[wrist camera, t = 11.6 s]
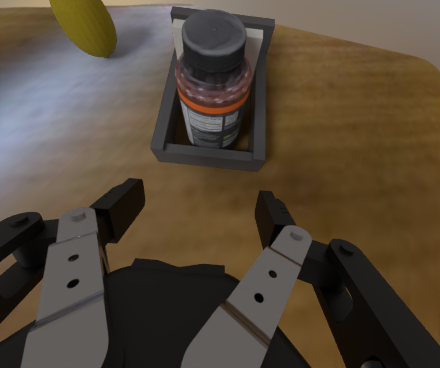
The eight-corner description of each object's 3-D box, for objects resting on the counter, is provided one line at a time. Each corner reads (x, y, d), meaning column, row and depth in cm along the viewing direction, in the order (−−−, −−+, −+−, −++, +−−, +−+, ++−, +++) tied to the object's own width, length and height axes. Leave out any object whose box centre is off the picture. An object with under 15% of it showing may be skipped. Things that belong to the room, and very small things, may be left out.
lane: (158, 161, 20) (137, 129, 14) (181, 60, 24) (172, 6, 19) (257, 171, 20) (276, 144, 14) (259, 69, 25) (274, 19, 19)
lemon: (77, 58, 24) (13, -28, 16) (107, 37, 25) (63, -50, 18) (105, 78, 23) (53, -3, 15) (135, 55, 24) (101, -29, 17)
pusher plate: (187, 111, 21) (171, 27, 13) (198, 50, 25) (192, -49, 16) (242, 117, 22) (262, 38, 13) (245, 56, 25) (264, -39, 16)
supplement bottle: (204, 109, 22) (198, -14, 11) (245, 129, 22) (279, 19, 11) (178, 143, 20) (143, 37, 10) (222, 166, 20) (237, 80, 9)
